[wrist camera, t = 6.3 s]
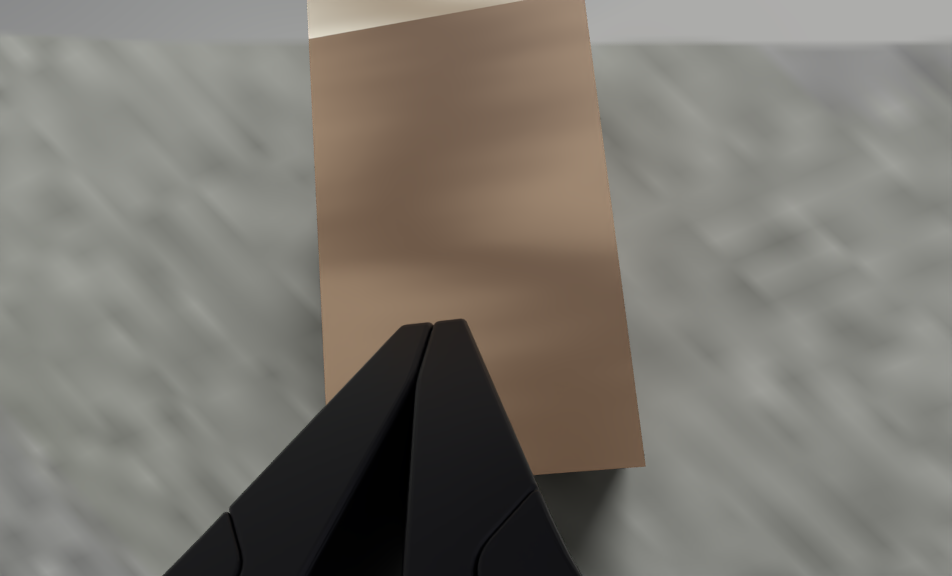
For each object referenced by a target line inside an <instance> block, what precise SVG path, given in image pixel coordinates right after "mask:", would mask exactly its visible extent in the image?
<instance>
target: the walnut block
mask: <svg viewBox="0 0 952 576" xmlns="http://www.w3.org/2000/svg"><path fill="white" fill-rule="evenodd" d="M307 7H308V8H307V10H308V31H309V53H310V75H311V97H312V118H313V140H314V161H315V183H316V204H317V226H318V247H319V269H320V290H321V312H322V333H323V355H324V376H325V398H326V405H327V403H328V402H329V401H330V400H331V399H332V398H333V397H334V396H335V395H336V394H337V393H338V392H339V391H340V390H341V389H342V388H343V387H344V386H345V384H346V383H347V382H348V381H349V380H350V379H351V378H352V377H353V376H354V375H355V374H356V373H357V372H358V371H359V370H360V369H361V368H362V367H363V365H364V364H365V363H366V362H367V361H368V360H369V359H370V358H371V357H372V356H373V355H374V354H375V353H376V352H377V351H378V350H379V349H380V348H381V346H382V345H383V344H384V343H385V342H386V341H387V340H388V339H389V338H390V337H391V336H392V335H393V334H394V333H395V332H396V331H397V330H398V329H399V328H400V327H401V326H403V325H406V324H415V323H424V322H430V323H432V324H433V325H434V323H436V322H437V321H442V320H451V319H460V318H461V319H465V320H466V321H467V323H468V326H469V328H470V330H471V333H472V335H473V337H474V339H475V342H476V344H477V346H478V349H479V351H480V353H481V356H482V358H483V360H484V362H485V365H486V367H487V369H488V372H489V374H490V376H491V379H492V381H493V383H494V386H495V388H496V390H497V392H498V395H499V397H500V399H501V402H502V404H503V406H504V409H505V411H506V413H507V416H508V418H509V420H510V422H511V425H512V427H513V429H514V432H515V434H516V436H517V439H518V441H519V443H520V445H521V448H522V450H523V452H524V455H525V457H526V459H527V462H528V464H529V466H530V469H531V471H532V473H533V475H539V474H552V473H565V472H578V471H592V470H605V469H618V468H631V467H644V466H645V459H644V451H643V443H642V436H641V428H640V420H639V413H638V405H637V397H636V390H635V382H634V374H633V367H632V359H631V351H630V344H629V336H628V328H627V321H626V313H625V306H624V298H623V290H622V283H621V275H620V267H619V260H618V252H617V244H616V237H615V229H614V221H613V214H612V206H611V198H610V191H609V183H608V176H607V168H606V160H605V153H604V145H603V137H602V130H601V122H600V114H599V107H598V99H597V91H596V84H595V76H594V68H593V61H592V53H591V45H590V38H589V30H588V23H587V15H586V7H585V0H307Z"/></svg>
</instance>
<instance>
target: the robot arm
mask: <svg viewBox="0 0 952 576" xmlns="http://www.w3.org/2000/svg"><path fill="white" fill-rule="evenodd" d="M229 512H230V513H228V512H225V513H223V514H222V515H221V516H220V517H219V518H218V519H217V520H216V521H215V522H214V524H213V525H212V526H211V527H210V528H209V529H208V530H207V531H206V532H205V533H204V534H203V535H202V536H201V537H200V538H199V539H198V540H197V541H196V542H195V543H194V544H193V545H192V546H191V547H190V548H189V549H188V550H187V551H186V552H185V553H184V554H183V555H182V556H181V557H180V558H179V559H178V560H177V562H176V563H175V564H174V565H173V566H172V567H171V568H170V569H169V570H168V571H167V572H166V573H165V574H164V575H163V576H582V575H581V573H580V571H579V569H578V568H577V566H576V564H575V562H574V561H573V559H572V557H571V555H570V554H569V551H568V549H567V547H566V545H565V543H564V541H563V539H562V537H561V535H560V533H559V531H558V529H557V527H556V525H555V523H554V521H553V519H552V516H551V514H550V512H549V509H548V507H547V505H546V502H545V500H544V498H543V495H542V493H541V492H540V491H539V487H538V485H537V482H536V480H535V478H534V475H533V473H532V471H531V469H530V466H529V464H528V462H527V459H526V457H525V455H524V452H523V450H522V448H521V445H520V443H519V441H518V439H517V436H516V434H515V432H514V429H513V427H512V425H511V422H510V420H509V418H508V416H507V413H506V411H505V409H504V406H503V404H502V402H501V399H500V397H499V395H498V392H497V390H496V388H495V386H494V383H493V381H492V379H491V376H490V374H489V372H488V369H487V367H486V365H485V362H484V360H483V358H482V356H481V353H480V351H479V349H478V346H477V344H476V342H475V339H474V337H473V335H472V333H471V330H470V328H469V326H468V323H467V321H466V320H465V319H461V318H460V319H451V320H442V321H437V322H436V323H434V325H433V324H432V323H430V322H424V323H415V324H406V325H403V326H401V327H400V328H399V329H398V330H397V331H396V332H395V333H394V334H393V335H392V336H391V337H390V338H389V339H388V340H387V341H386V342H385V343H384V344H383V345H382V346H381V348H380V349H379V350H378V351H377V352H376V353H375V354H374V355H373V356H372V357H371V358H370V359H369V360H368V361H367V362H366V363H365V364H364V365H363V367H362V368H361V369H360V370H359V371H358V372H357V373H356V374H355V375H354V376H353V377H352V378H351V379H350V380H349V381H348V382H347V383H346V384H345V386H344V387H343V388H342V389H341V390H340V391H339V392H338V393H337V394H336V395H335V396H334V397H333V398H332V399H331V400H330V401H329V402H328V403H327V405H326V406H325V407H324V408H323V409H322V410H321V411H320V412H319V413H318V414H317V415H316V416H315V417H314V418H313V419H312V420H311V421H310V422H309V424H308V425H307V426H306V427H305V428H304V429H303V430H302V431H301V432H300V433H299V434H298V435H297V436H296V437H295V438H294V439H293V440H292V441H291V443H290V444H289V445H288V446H287V447H286V448H285V449H284V450H283V451H282V452H281V453H280V454H279V455H278V456H277V457H276V458H275V459H274V460H273V462H272V463H271V464H270V465H269V466H268V467H267V468H266V469H265V470H264V471H263V472H262V473H261V474H260V475H259V476H258V477H257V478H256V480H255V481H254V482H253V483H252V484H251V485H250V486H249V487H248V488H247V489H246V490H245V491H244V492H243V493H242V494H241V495H240V496H239V497H238V499H237V500H236V501H235V502H234V503H233V504H232V505H231V506H230V508H229Z"/></svg>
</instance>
